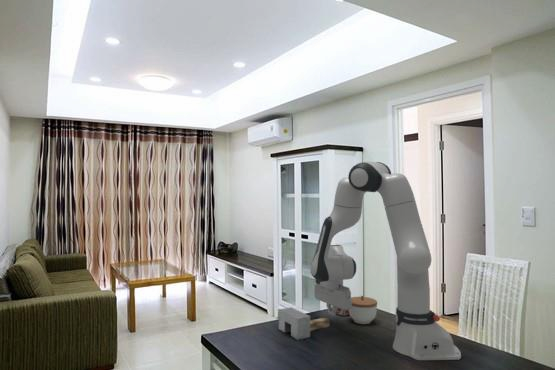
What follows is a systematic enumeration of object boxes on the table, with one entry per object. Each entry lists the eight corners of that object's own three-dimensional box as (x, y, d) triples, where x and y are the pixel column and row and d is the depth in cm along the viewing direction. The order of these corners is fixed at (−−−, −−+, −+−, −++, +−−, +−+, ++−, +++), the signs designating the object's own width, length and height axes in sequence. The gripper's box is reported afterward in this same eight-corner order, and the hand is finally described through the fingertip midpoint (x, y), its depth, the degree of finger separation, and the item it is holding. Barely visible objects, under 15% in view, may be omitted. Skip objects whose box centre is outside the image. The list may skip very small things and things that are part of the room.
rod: (324, 324, 165) (324, 317, 165) (329, 326, 162) (329, 319, 162) (294, 331, 156) (294, 324, 156) (298, 333, 154) (298, 326, 154)
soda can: (332, 312, 181) (333, 286, 181) (346, 311, 183) (346, 285, 183) (339, 317, 174) (339, 290, 174) (353, 315, 176) (353, 289, 177)
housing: (291, 326, 162) (291, 307, 162) (310, 336, 150) (310, 316, 150) (278, 329, 159) (278, 309, 159) (297, 339, 147) (297, 318, 147)
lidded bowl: (345, 316, 175) (345, 292, 175) (373, 316, 175) (373, 292, 175) (350, 326, 162) (350, 299, 163) (380, 326, 162) (380, 300, 162)
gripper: (355, 287, 158) (354, 320, 158) (323, 276, 175) (322, 307, 175) (344, 288, 155) (343, 323, 155) (312, 278, 172) (311, 309, 172)
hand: (332, 314), depth 165 cm, fingers closed
